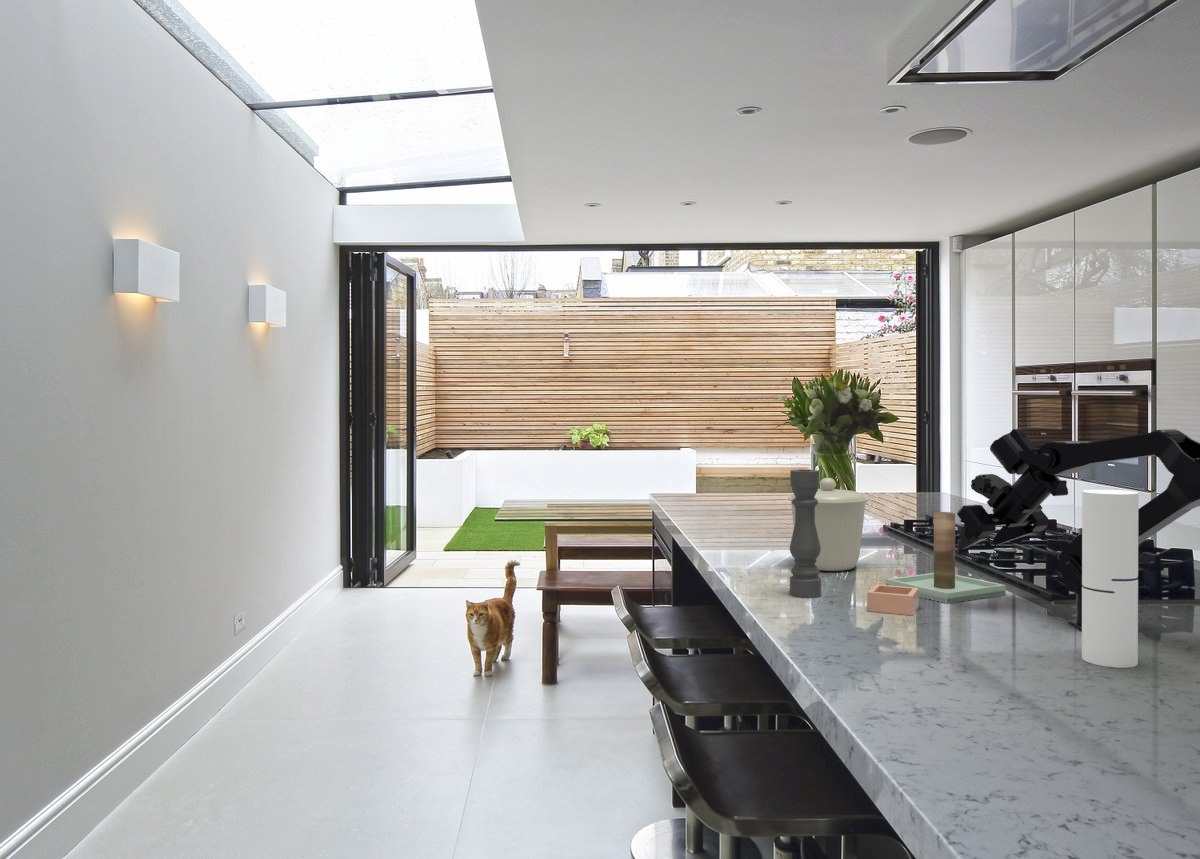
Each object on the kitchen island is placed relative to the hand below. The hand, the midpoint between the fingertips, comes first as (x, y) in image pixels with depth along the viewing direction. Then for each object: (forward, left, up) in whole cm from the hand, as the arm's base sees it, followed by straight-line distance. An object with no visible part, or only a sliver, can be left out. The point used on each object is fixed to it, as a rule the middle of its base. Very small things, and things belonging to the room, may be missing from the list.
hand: (977, 545), depth 170 cm
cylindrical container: (-40, -7, -11) cm, 42 cm away
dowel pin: (+7, +5, -10) cm, 13 cm away
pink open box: (-9, +18, -11) cm, 23 cm away
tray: (+7, +5, -11) cm, 13 cm away
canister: (+32, +25, -11) cm, 42 cm away
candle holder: (+2, +33, -11) cm, 34 cm away
